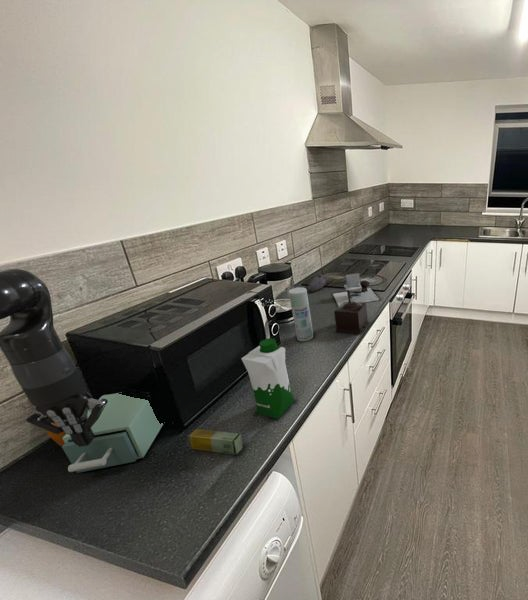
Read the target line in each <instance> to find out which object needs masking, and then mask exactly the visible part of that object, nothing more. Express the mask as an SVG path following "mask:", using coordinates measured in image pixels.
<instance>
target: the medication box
mask: <svg viewBox="0 0 528 600" xmlns="http://www.w3.org/2000/svg"><path fill="white" fill-rule="evenodd" d="M188 437H189V442H190V448H191V450H196V451H203V452H212V453H218V454H226V455H235V456H237V455H238V454H239V453H240V452H241V451H242V450H243V448H244V446H243V441H242V434H241V433H235V432H227V431H219V430H211V429H200V428H196V429H195V430H193V431H192V432H191V433H190V434H189V435H188Z"/></svg>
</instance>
